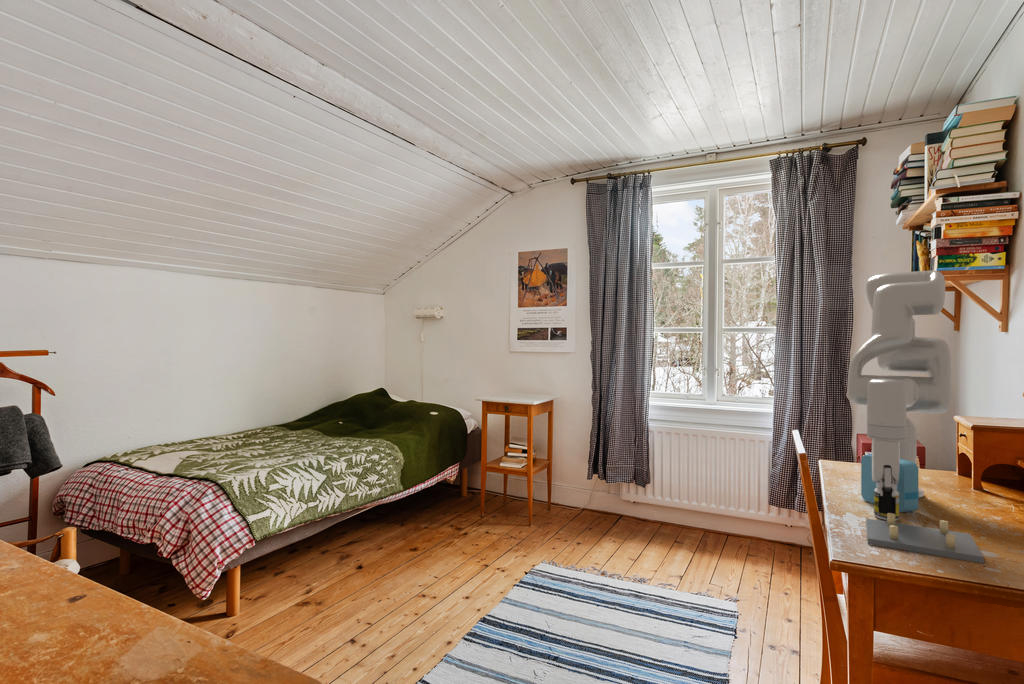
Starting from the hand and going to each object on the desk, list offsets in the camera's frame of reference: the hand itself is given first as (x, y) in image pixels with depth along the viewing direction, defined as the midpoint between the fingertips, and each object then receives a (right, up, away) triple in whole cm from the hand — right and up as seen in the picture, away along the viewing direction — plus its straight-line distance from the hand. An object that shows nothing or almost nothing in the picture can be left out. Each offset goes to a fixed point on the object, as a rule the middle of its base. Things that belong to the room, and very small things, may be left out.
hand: (886, 509), depth 125 cm
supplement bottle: (0, -2, 0) cm, 2 cm away
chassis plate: (-3, -2, -14) cm, 15 cm away
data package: (+7, -2, +9) cm, 12 cm away
